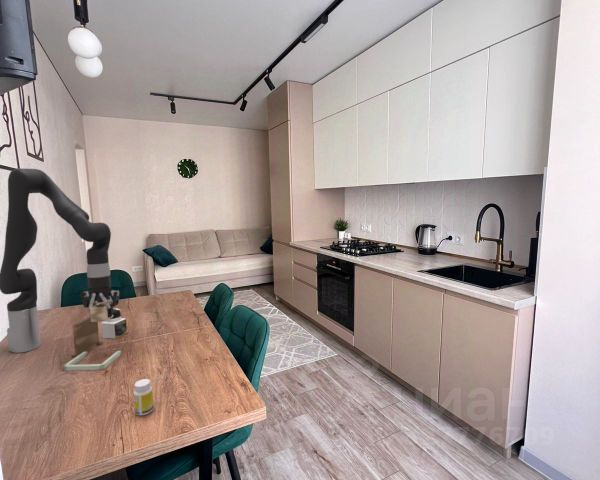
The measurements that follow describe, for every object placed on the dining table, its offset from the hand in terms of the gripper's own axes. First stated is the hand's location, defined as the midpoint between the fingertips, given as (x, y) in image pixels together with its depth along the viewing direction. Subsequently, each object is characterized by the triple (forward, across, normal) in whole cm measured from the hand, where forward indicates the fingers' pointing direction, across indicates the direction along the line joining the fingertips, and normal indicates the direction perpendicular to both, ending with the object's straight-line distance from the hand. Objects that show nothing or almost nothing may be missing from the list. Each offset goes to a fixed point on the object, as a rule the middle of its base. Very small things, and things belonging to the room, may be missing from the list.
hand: (102, 317), depth 127 cm
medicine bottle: (+16, -6, +20) cm, 27 cm away
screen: (+15, -9, +5) cm, 19 cm away
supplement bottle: (+15, +31, -38) cm, 51 cm away
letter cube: (+1, 0, 0) cm, 1 cm away
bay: (+15, -1, -5) cm, 16 cm away
